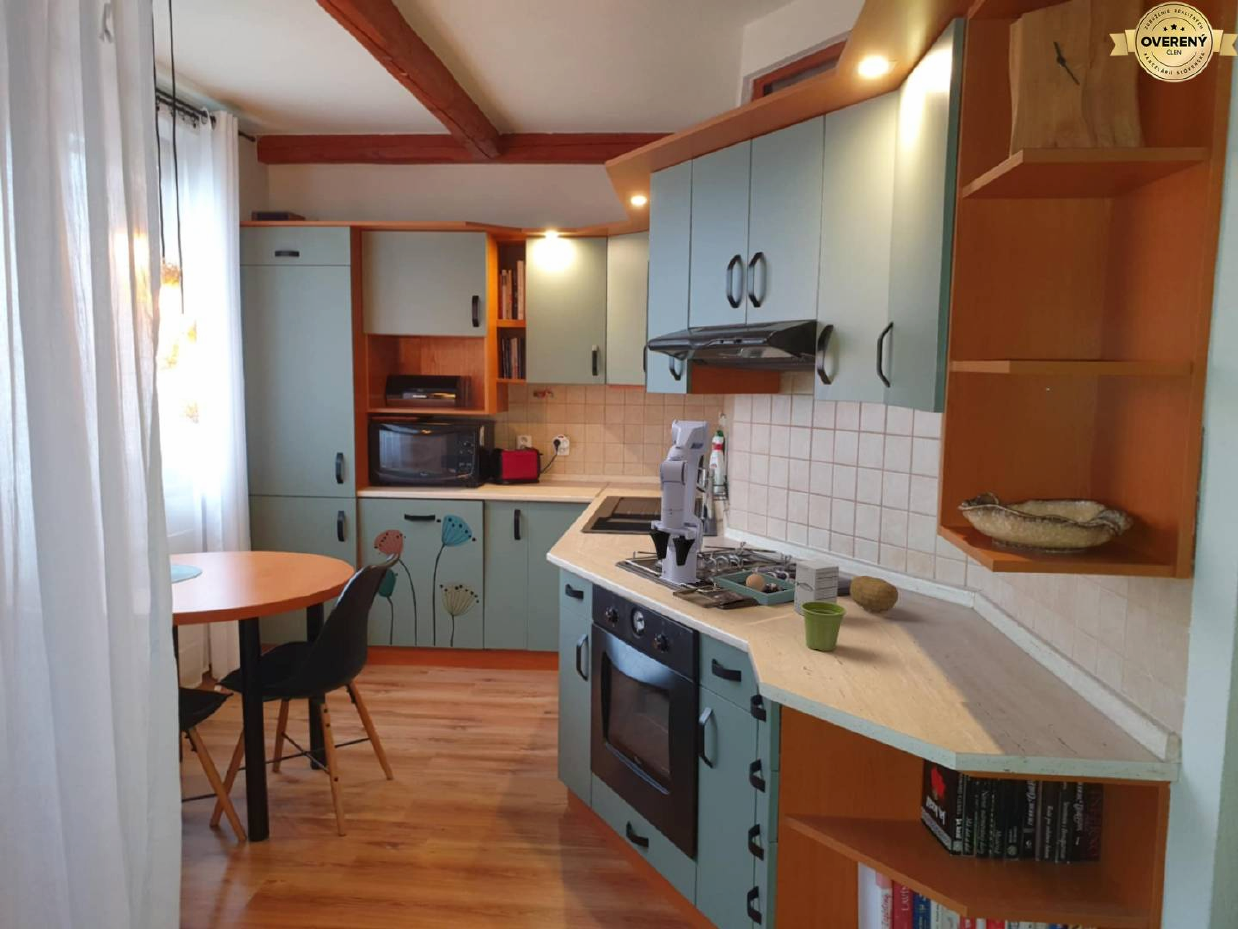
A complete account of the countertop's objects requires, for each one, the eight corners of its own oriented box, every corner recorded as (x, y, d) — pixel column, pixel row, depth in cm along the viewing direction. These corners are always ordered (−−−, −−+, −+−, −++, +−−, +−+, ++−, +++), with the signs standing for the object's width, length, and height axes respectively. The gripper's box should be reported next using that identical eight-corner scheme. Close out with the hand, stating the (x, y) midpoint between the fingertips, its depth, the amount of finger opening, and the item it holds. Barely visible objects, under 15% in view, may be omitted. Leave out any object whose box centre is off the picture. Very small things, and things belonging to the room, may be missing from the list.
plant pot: (826, 637, 183) (828, 599, 181) (853, 651, 174) (855, 611, 173) (790, 641, 179) (792, 603, 178) (815, 656, 170) (817, 616, 169)
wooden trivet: (672, 596, 211) (672, 592, 210) (709, 589, 218) (709, 585, 218) (705, 609, 200) (705, 604, 200) (743, 601, 208) (743, 597, 208)
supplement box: (792, 612, 200) (795, 561, 198) (816, 608, 204) (819, 558, 202) (812, 621, 194) (815, 568, 192) (837, 617, 197) (840, 565, 195)
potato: (869, 600, 211) (871, 569, 210) (907, 616, 198) (909, 584, 197) (837, 603, 208) (839, 572, 207) (874, 620, 195) (876, 587, 194)
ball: (741, 592, 215) (742, 573, 215) (756, 589, 218) (756, 571, 218) (754, 596, 211) (755, 576, 211) (769, 593, 214) (769, 574, 213)
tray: (712, 587, 219) (713, 576, 219) (750, 580, 227) (751, 569, 227) (766, 607, 203) (767, 595, 203) (805, 598, 211) (806, 587, 211)
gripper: (642, 505, 208) (641, 557, 210) (678, 515, 196) (677, 570, 198) (664, 503, 212) (662, 554, 214) (701, 512, 200) (699, 566, 202)
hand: (671, 562), depth 206 cm, fingers open, 7 cm apart
